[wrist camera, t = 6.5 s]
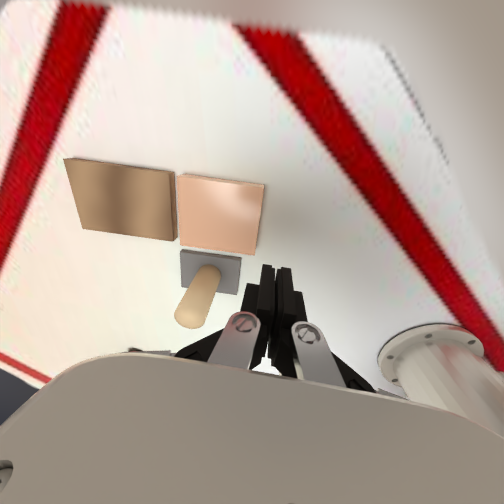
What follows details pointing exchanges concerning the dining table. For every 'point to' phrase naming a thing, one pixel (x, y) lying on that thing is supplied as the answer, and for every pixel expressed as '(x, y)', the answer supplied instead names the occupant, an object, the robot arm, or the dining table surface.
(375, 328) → the dining table surface
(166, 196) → the board
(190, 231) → the tile
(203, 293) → the float
